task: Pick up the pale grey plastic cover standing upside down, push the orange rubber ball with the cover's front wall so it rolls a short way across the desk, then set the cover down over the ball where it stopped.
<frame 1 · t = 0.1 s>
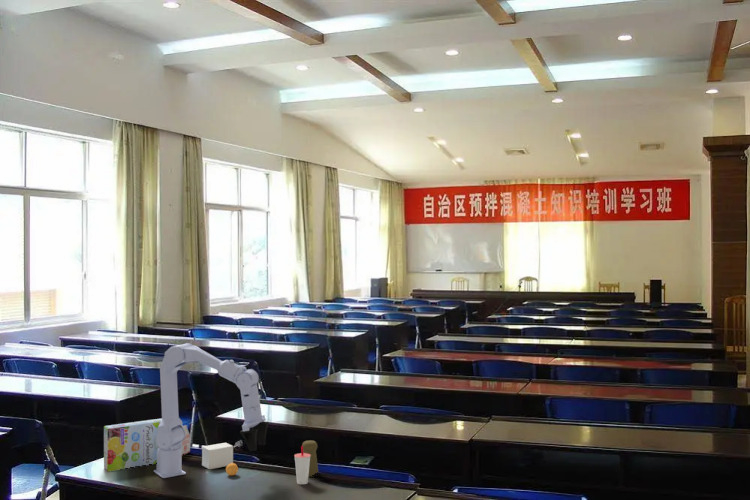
hand: (257, 448, 226), 11 cm above the table, tool pointing down, fingers open, 7 cm apart
cup: (302, 483, 223), on the table
cover: (217, 465, 242), on the table
snack box: (136, 466, 242), on the table
ball: (231, 469, 231), on the table
cork: (309, 474, 233), on the table
tea bag: (180, 454, 257), on the table
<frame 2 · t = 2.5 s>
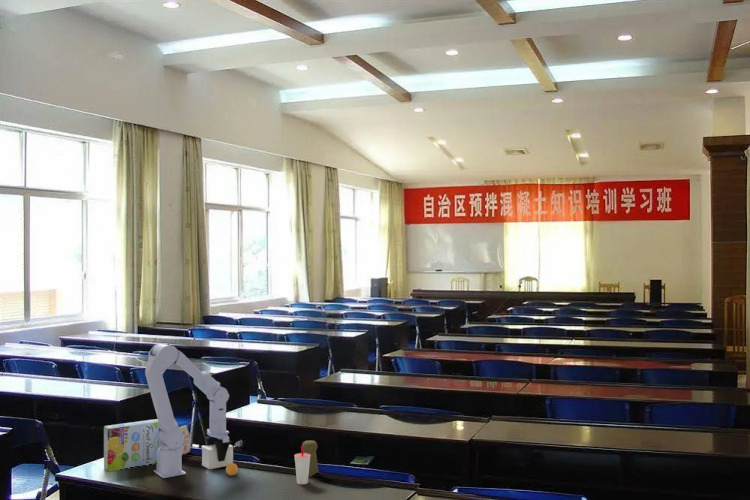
hand: (217, 458, 242), 2 cm above the table, tool pointing down, fingers closed on cover, 6 cm apart
cover: (217, 465, 242), on the table, touching gripper
everything else where it was.
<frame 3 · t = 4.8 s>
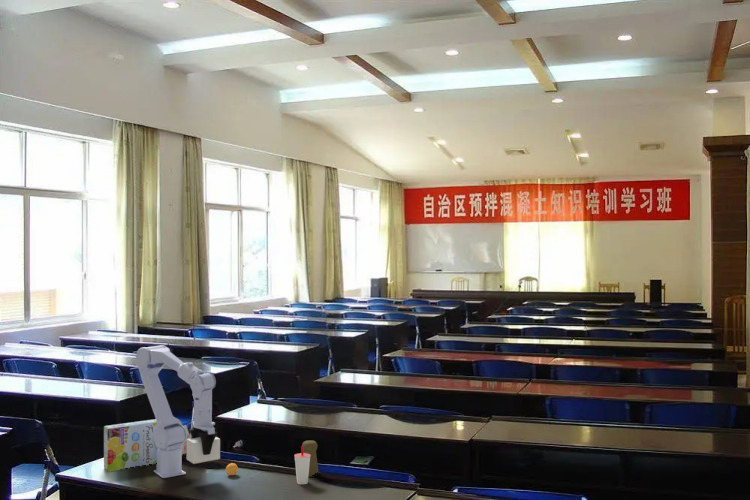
hand: (202, 452, 225), 9 cm above the table, tool pointing down, fingers closed on cover, 6 cm apart
cover: (203, 459, 225), point 7 cm above the table, touching gripper
everything else where it was.
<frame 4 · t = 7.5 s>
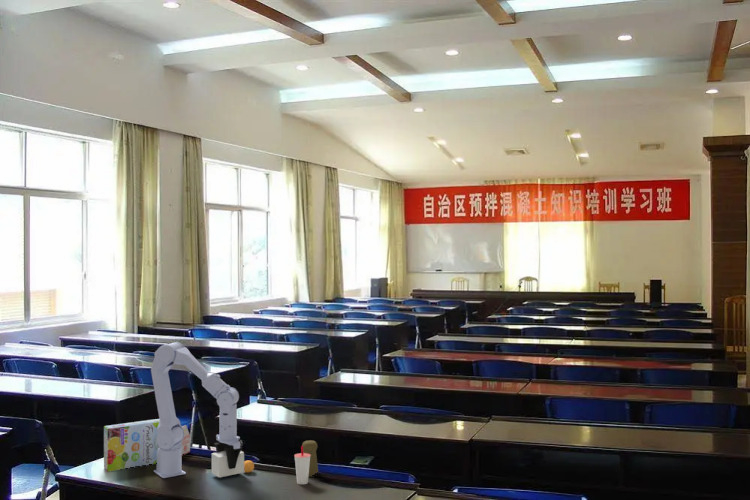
hand: (227, 466, 230), 3 cm above the table, tool pointing down, fingers closed on cover, 6 cm apart
cover: (227, 472, 230), point 1 cm above the table, touching gripper
ball: (248, 466, 234), on the table
everything else where it was.
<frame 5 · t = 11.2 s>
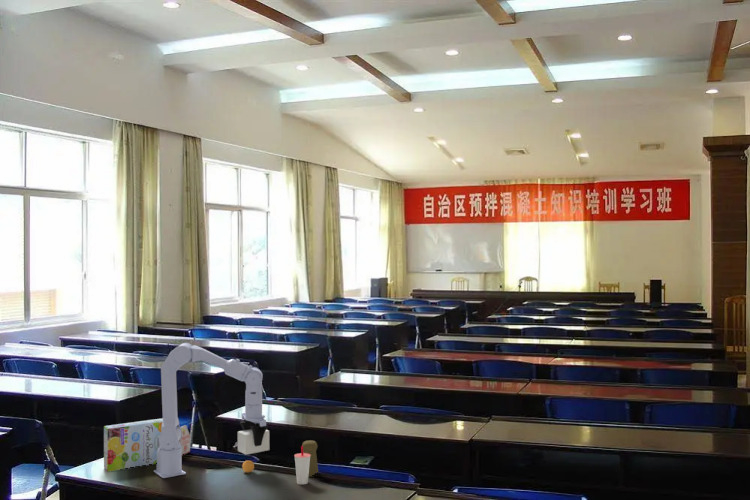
hand: (253, 443, 236), 9 cm above the table, tool pointing down, fingers closed on cover, 6 cm apart
cover: (253, 450, 236), point 7 cm above the table, touching gripper
everything else where it was.
when the fingers open (3 cm above the table, at t = 14.4 s): cover stays where it is, on the table.
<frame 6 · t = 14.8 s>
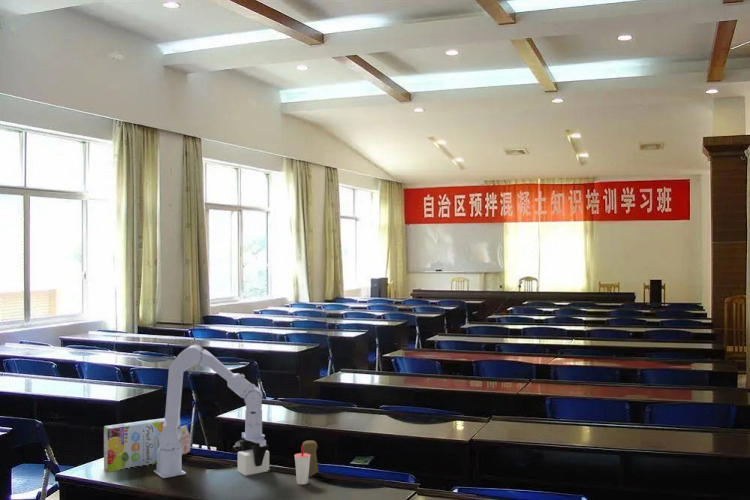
hand: (253, 463, 235), 3 cm above the table, tool pointing down, fingers open, 7 cm apart
cover: (253, 471, 235), on the table
everything else where it was.
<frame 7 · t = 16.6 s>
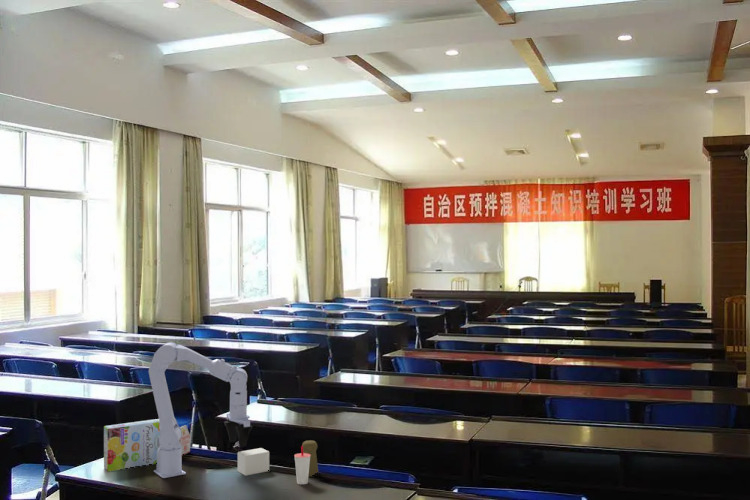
hand: (237, 444, 236), 9 cm above the table, tool pointing down, fingers open, 7 cm apart
nothing on the table moved.
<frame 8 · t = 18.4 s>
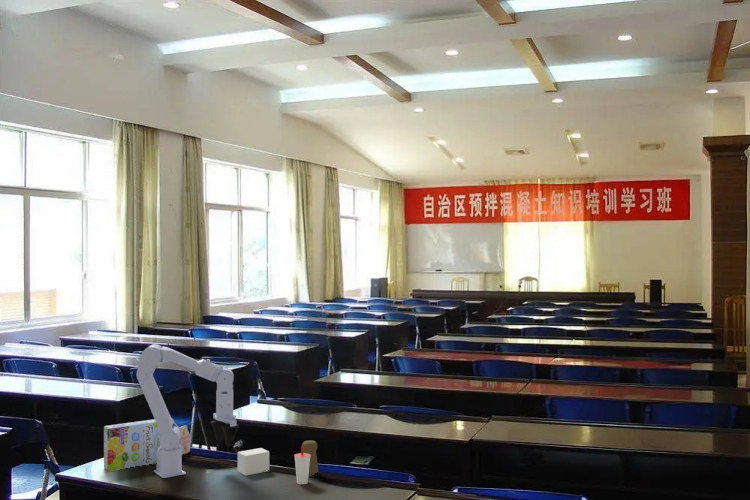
hand: (224, 443, 236), 9 cm above the table, tool pointing down, fingers open, 7 cm apart
nothing on the table moved.
at the end: ball 2.1 cm from the cover (horizontally); cover on the table; ball moved 5.9 cm from its start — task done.
